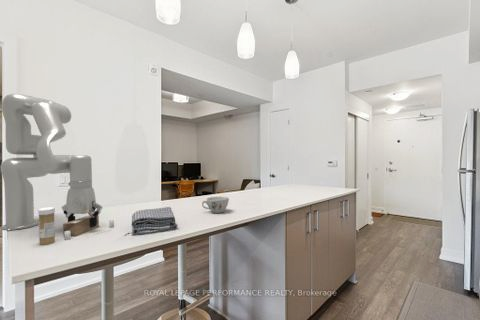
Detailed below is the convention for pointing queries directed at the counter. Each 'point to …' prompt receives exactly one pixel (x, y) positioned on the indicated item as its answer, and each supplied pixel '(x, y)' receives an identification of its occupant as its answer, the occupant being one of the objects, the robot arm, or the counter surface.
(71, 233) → the frame
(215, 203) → the teacup
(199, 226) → the counter surface
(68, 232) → the panel
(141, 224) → the towel
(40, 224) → the pill bottle
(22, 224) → the robot arm
